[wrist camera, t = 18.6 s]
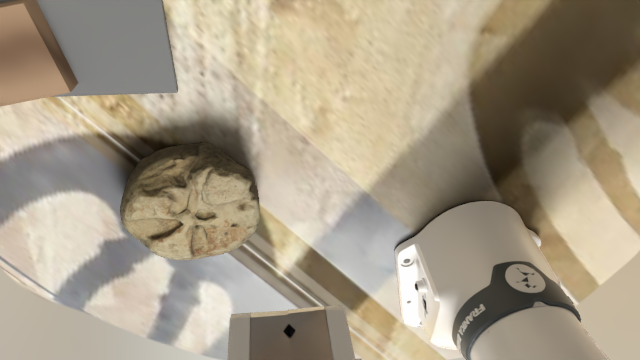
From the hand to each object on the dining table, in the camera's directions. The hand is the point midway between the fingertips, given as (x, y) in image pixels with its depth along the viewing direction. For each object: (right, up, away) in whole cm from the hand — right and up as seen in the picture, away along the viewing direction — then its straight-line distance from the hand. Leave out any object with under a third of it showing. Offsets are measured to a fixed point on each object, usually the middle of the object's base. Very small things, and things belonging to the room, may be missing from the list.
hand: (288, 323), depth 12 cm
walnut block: (-24, +14, +23) cm, 36 cm away
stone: (-12, +3, +34) cm, 36 cm away
